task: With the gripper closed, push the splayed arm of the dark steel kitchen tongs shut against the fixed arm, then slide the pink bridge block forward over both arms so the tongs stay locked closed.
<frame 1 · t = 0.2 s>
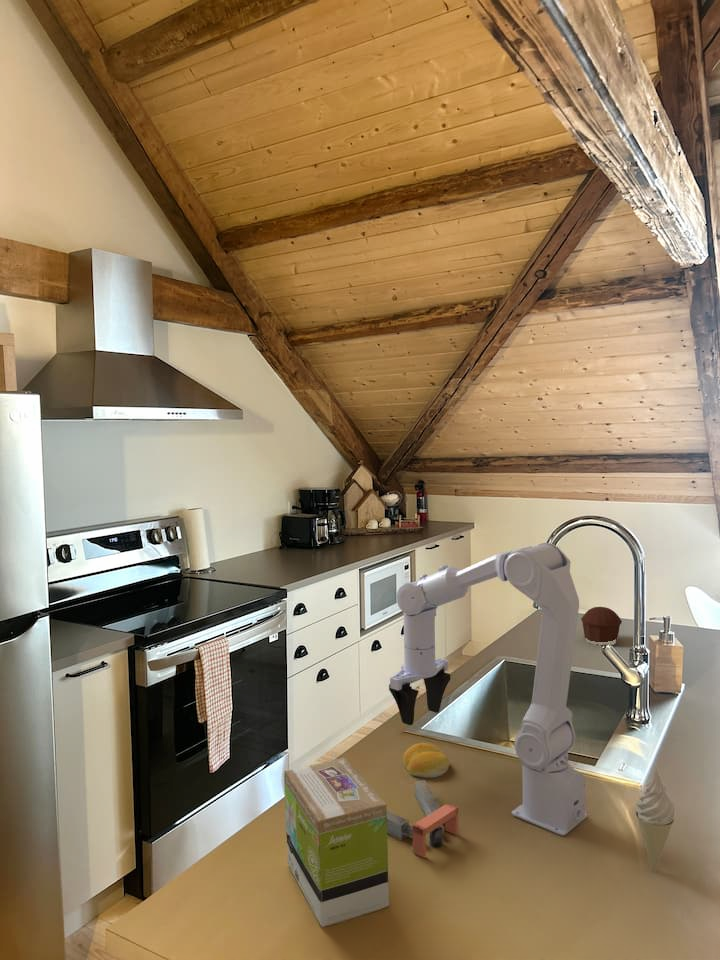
hand: (420, 717, 134), 10 cm above the countertop, tool pointing down, fingers open, 7 cm apart
ice cream cone: (654, 872, 103), on the countertop
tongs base: (436, 843, 110), on the countertop
muffin: (601, 642, 211), on the countertop
pink bridge block: (435, 829, 110), point 2 cm above the countertop, slide at 0.0 cm
tea box: (335, 887, 101), on the countertop
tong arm: (430, 807, 119), point 1 cm above the countertop, hinge at 35.0°
bread roll: (425, 769, 136), on the countertop
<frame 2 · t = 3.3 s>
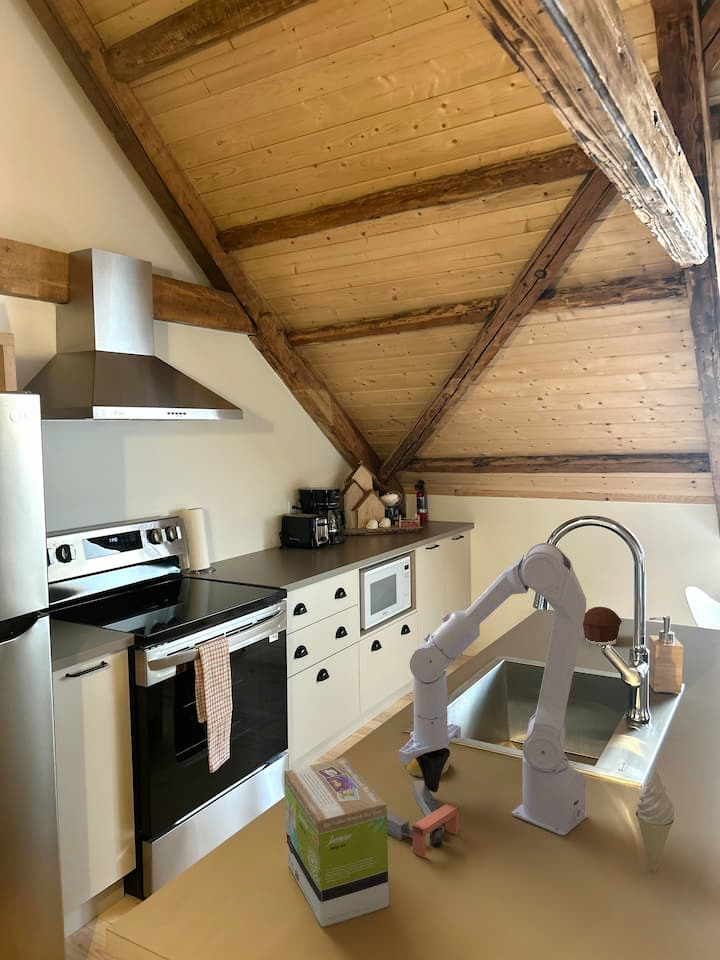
hand: (431, 790, 124), 1 cm above the countertop, tool pointing down, fingers closed, pressing on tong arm
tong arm: (429, 807, 119), point 1 cm above the countertop, hinge at 33.8°, touching gripper
everything else where it was.
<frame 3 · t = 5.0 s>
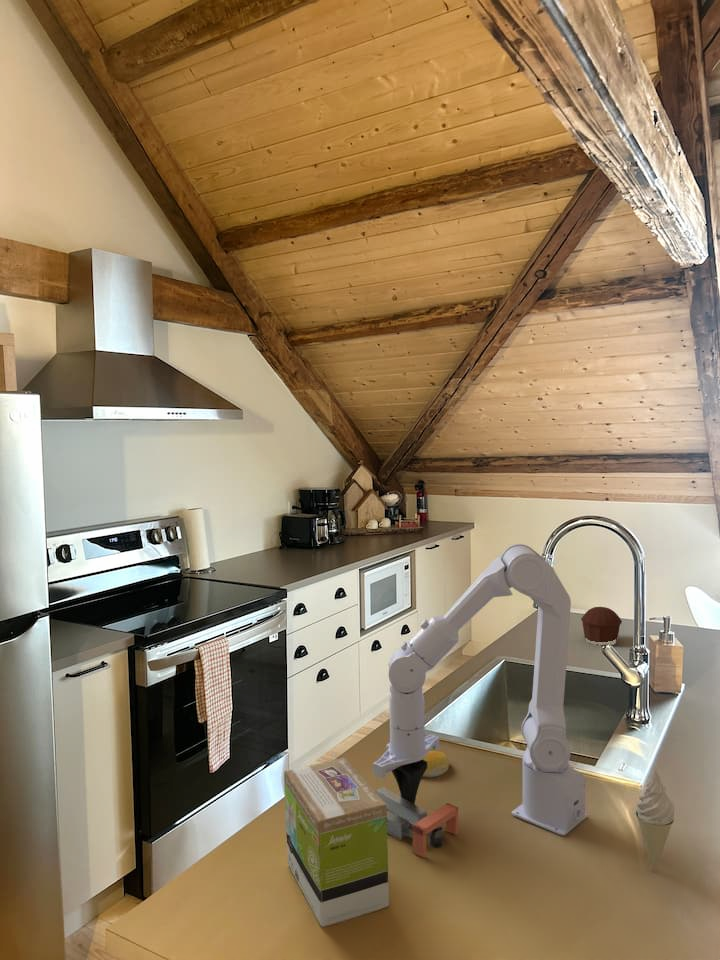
hand: (408, 803, 120), 1 cm above the countertop, tool pointing down, fingers closed
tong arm: (407, 810, 118), point 1 cm above the countertop, hinge at 6.5°, touching gripper
everything else where it was.
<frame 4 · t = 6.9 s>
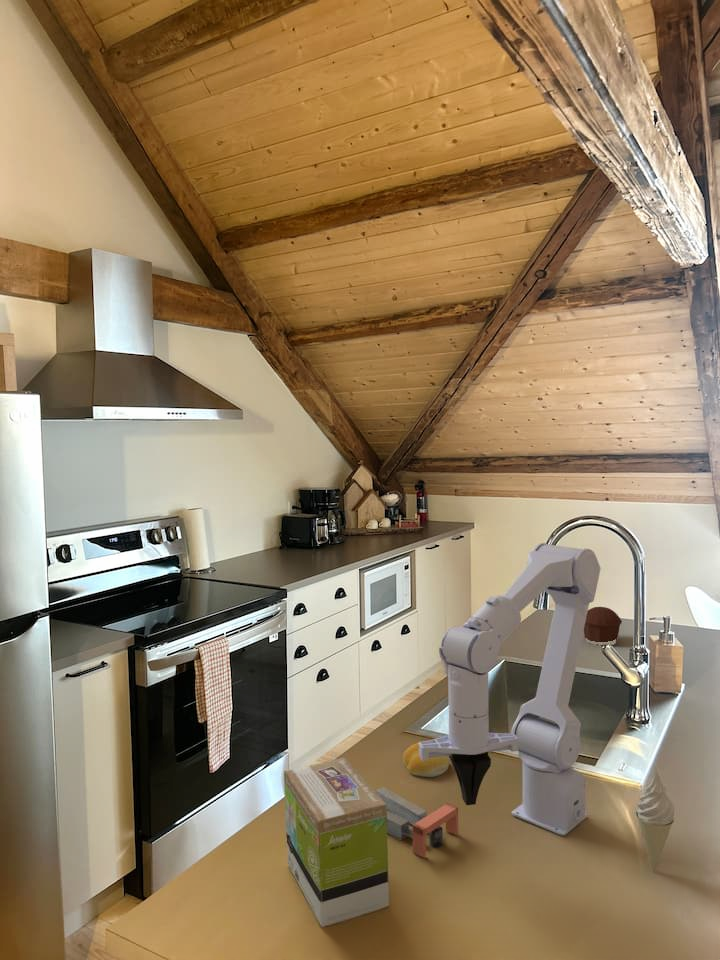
hand: (468, 801, 106), 9 cm above the countertop, tool pointing down, fingers closed
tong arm: (407, 810, 118), point 1 cm above the countertop, hinge at 6.4°
everything else where it was.
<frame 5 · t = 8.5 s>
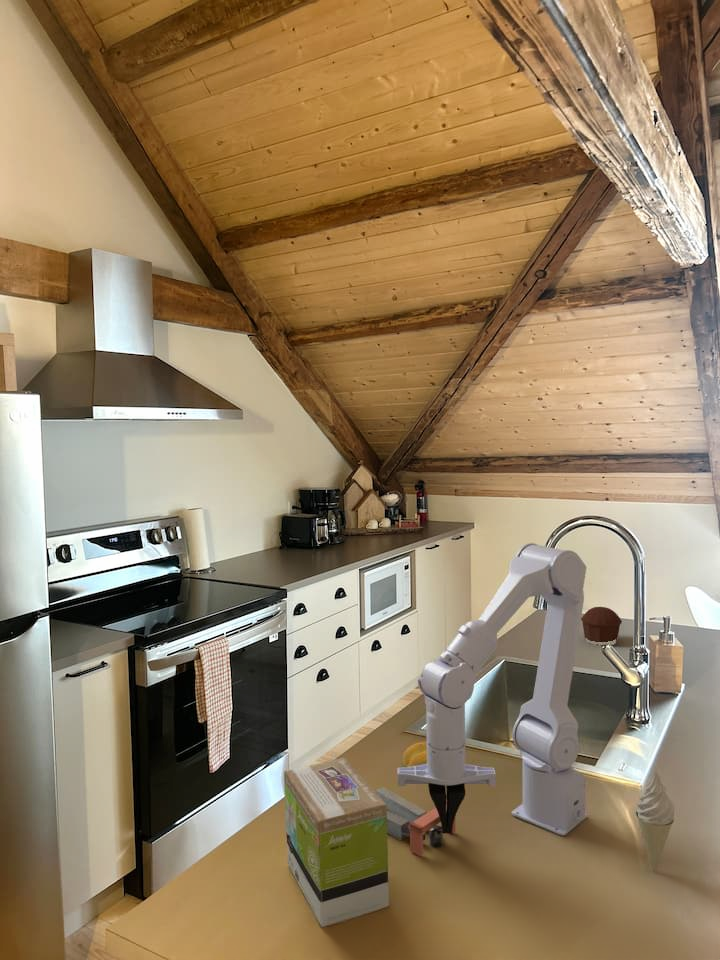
hand: (446, 829, 109), 3 cm above the countertop, tool pointing down, fingers closed
pink bridge block: (433, 827, 111), point 2 cm above the countertop, slide at 0.5 cm, touching gripper
everything else where it was.
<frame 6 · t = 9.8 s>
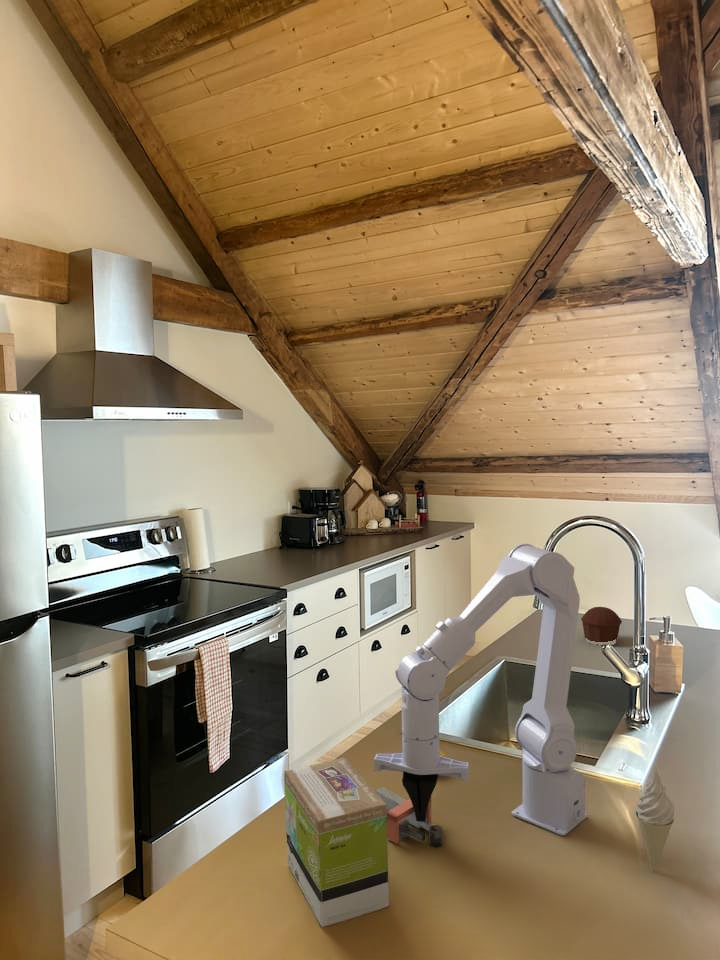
hand: (421, 818, 112), 3 cm above the countertop, tool pointing down, fingers closed
pink bridge block: (409, 816, 114), point 2 cm above the countertop, slide at 5.3 cm, touching gripper
everything else where it was.
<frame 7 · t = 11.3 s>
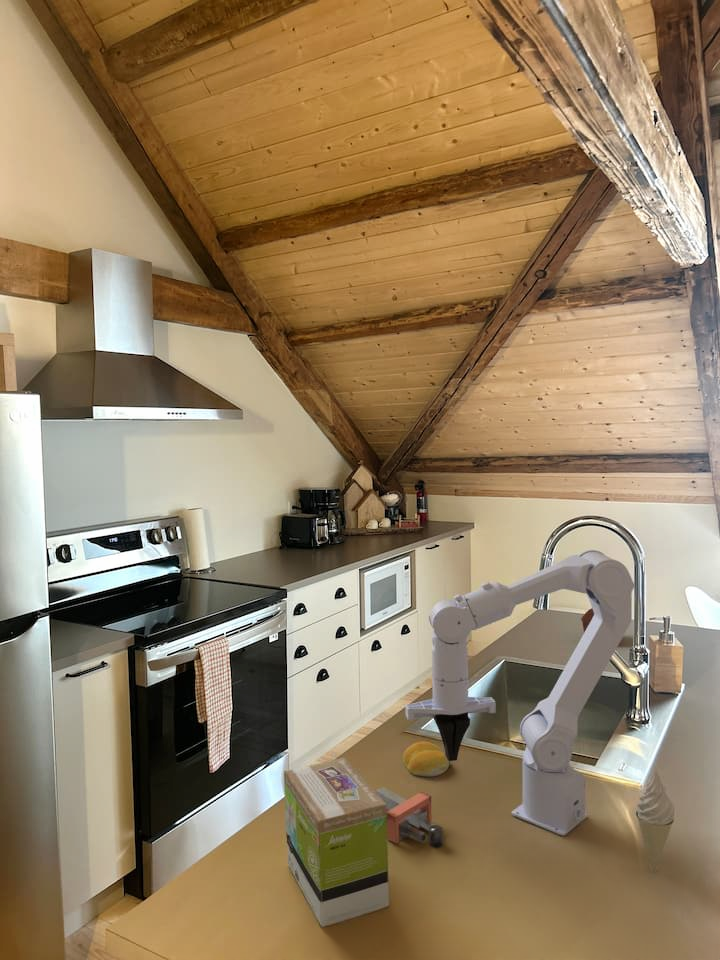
hand: (451, 758, 117), 10 cm above the countertop, tool pointing down, fingers closed
pink bridge block: (409, 816, 114), point 2 cm above the countertop, slide at 5.3 cm
everything else where it was.
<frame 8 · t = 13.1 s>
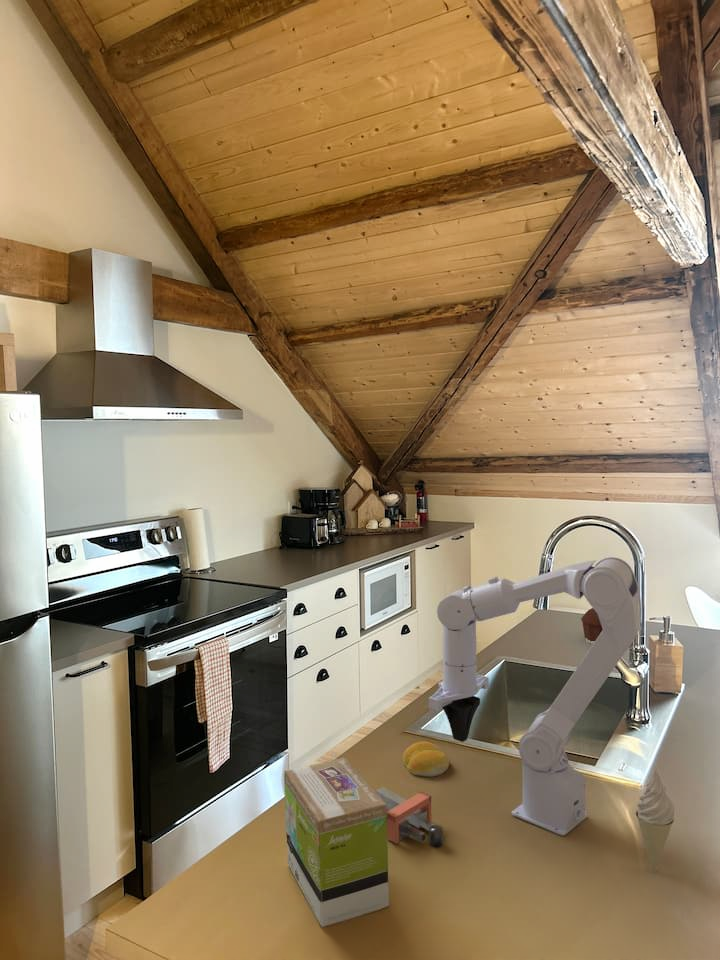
hand: (460, 739, 124), 10 cm above the countertop, tool pointing down, fingers closed
nothing on the countertop moved.
at the end: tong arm at +6° (first picture: +35°); pink bridge block slide at 5.3 cm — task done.
